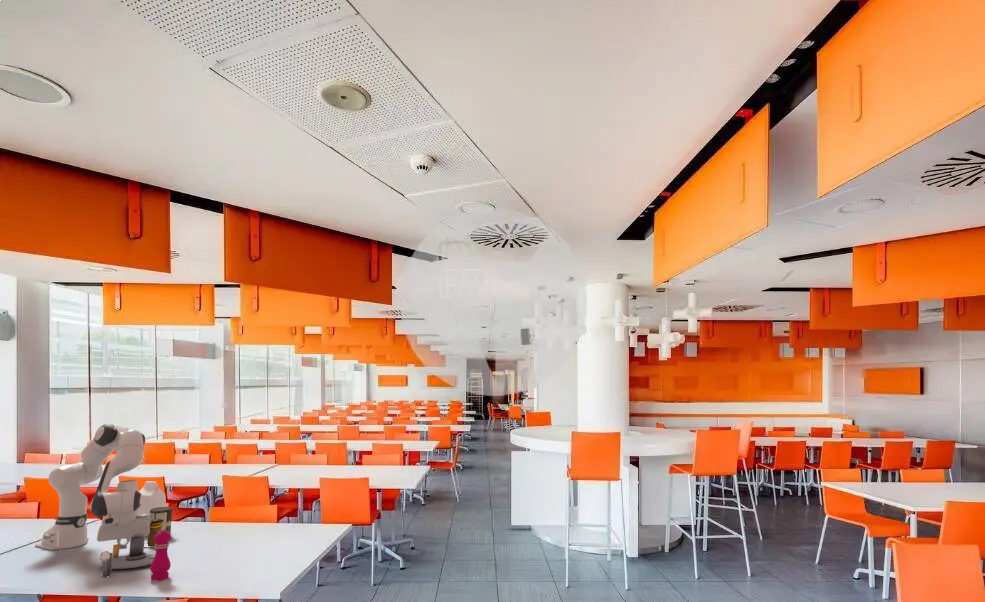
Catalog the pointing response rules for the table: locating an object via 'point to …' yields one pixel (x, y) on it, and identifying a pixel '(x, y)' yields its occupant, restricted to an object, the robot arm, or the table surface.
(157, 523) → the condiment
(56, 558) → the table surface
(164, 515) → the coffee can
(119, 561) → the turntable
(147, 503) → the milk
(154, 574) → the pepper mill
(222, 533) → the table surface
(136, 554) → the urn
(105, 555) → the grey bar with dome
